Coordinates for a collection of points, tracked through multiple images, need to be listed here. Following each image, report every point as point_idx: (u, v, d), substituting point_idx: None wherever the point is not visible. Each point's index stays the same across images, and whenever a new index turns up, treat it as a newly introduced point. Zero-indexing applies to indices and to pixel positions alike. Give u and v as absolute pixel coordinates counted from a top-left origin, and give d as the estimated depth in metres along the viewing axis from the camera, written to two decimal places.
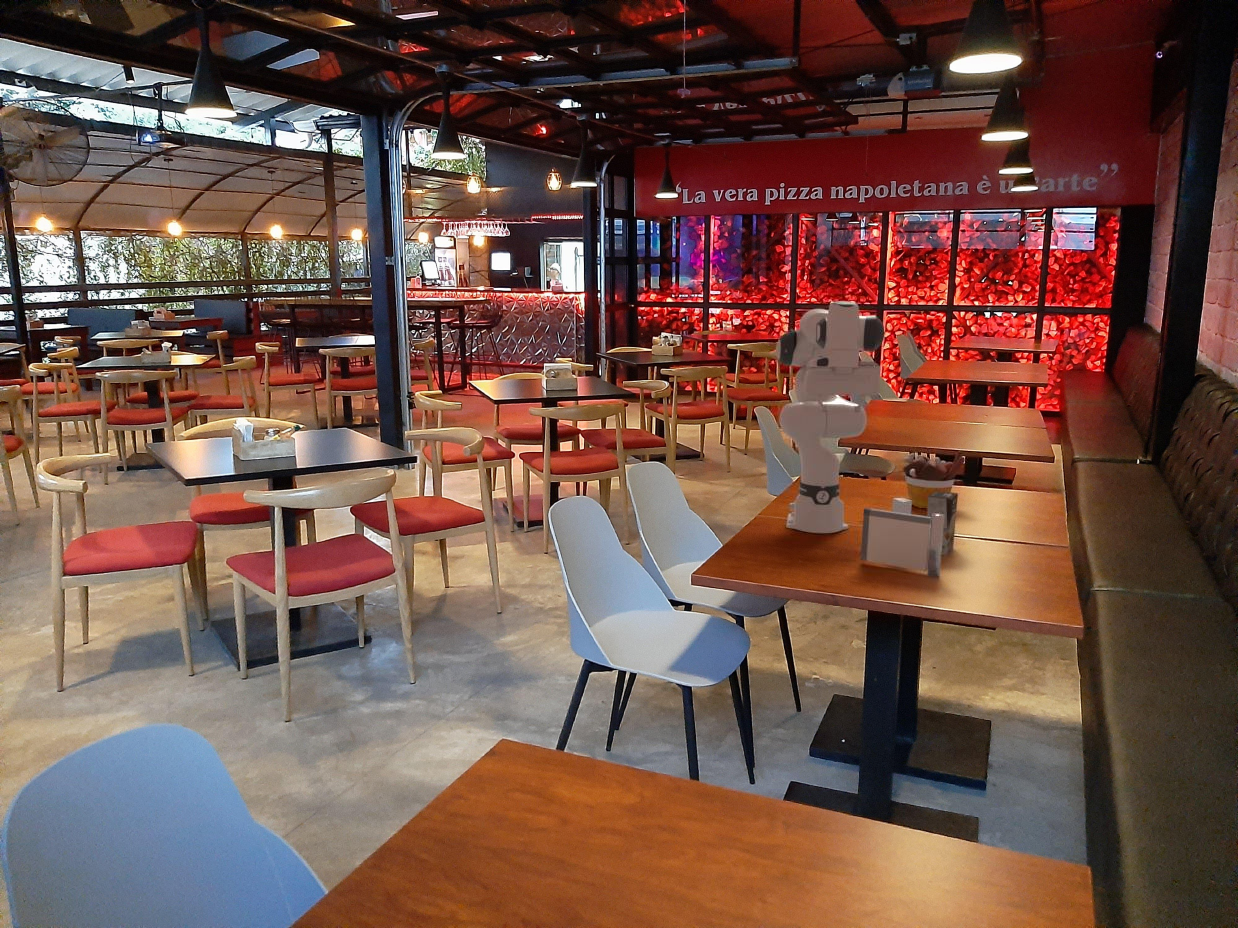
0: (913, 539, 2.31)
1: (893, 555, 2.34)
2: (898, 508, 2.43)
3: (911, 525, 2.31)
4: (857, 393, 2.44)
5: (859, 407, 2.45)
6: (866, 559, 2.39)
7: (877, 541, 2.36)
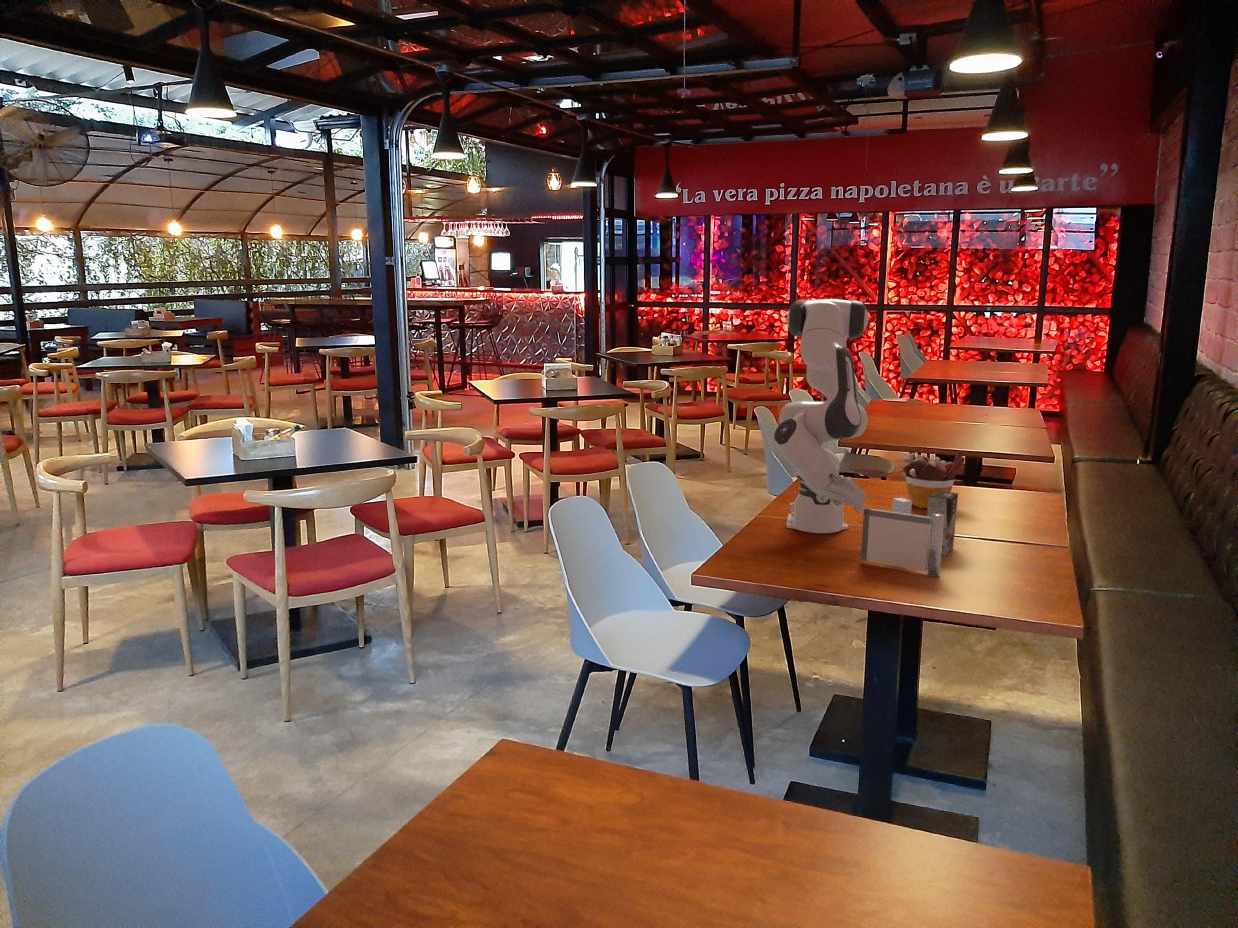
0: (913, 539, 2.31)
1: (893, 555, 2.34)
2: (898, 508, 2.43)
3: (911, 525, 2.31)
4: (844, 502, 2.27)
5: (856, 510, 2.27)
6: (866, 559, 2.39)
7: (877, 541, 2.36)
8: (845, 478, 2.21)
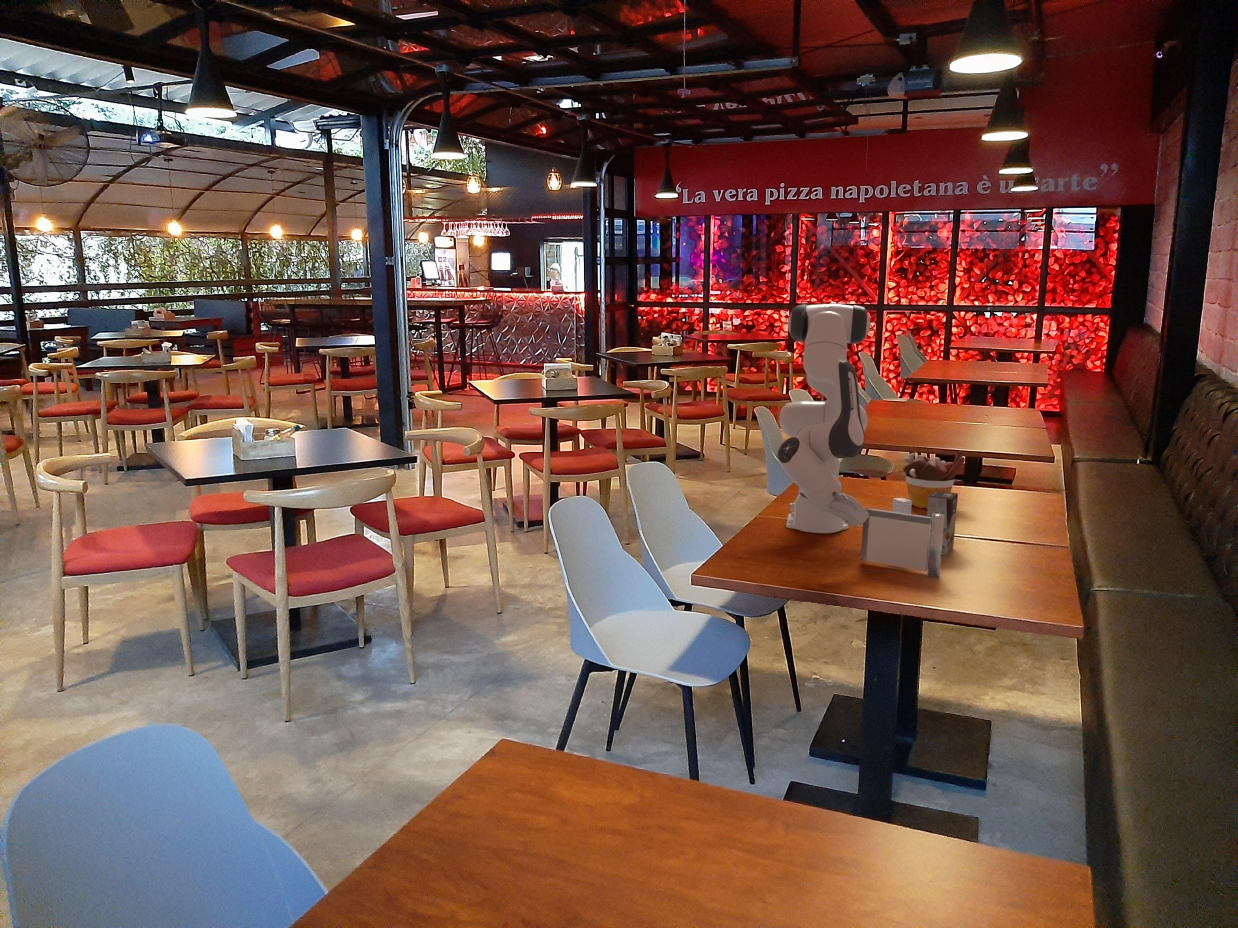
0: (913, 539, 2.31)
1: (893, 555, 2.34)
2: (898, 508, 2.43)
3: (911, 525, 2.31)
4: (847, 519, 2.28)
5: (850, 523, 2.32)
6: (866, 559, 2.39)
7: (877, 541, 2.36)
8: (848, 496, 2.23)
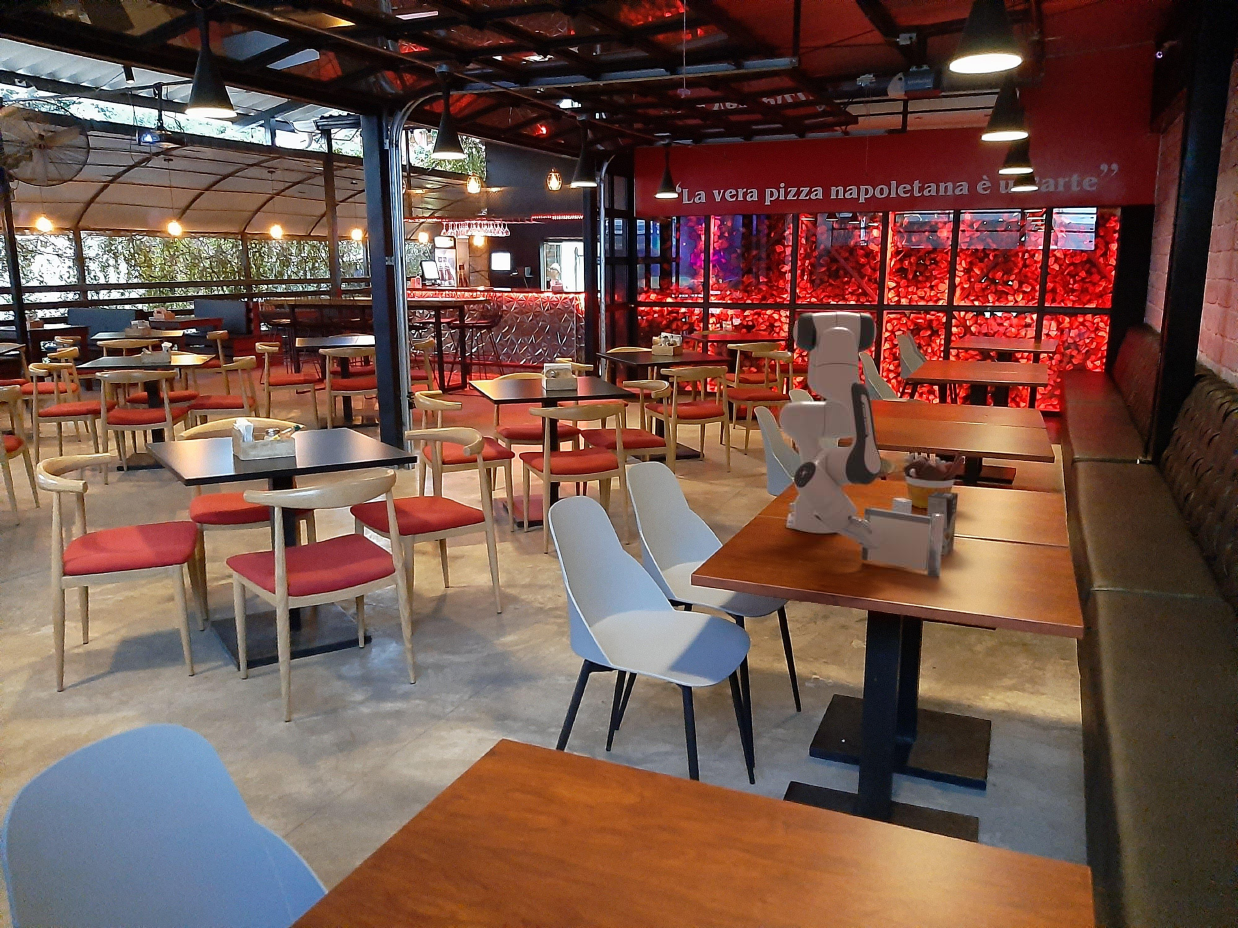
0: (914, 539, 2.31)
1: (893, 555, 2.35)
2: (898, 508, 2.43)
3: (911, 525, 2.31)
4: (862, 542, 2.31)
5: (865, 546, 2.36)
6: (867, 558, 2.39)
7: None
8: (863, 520, 2.26)
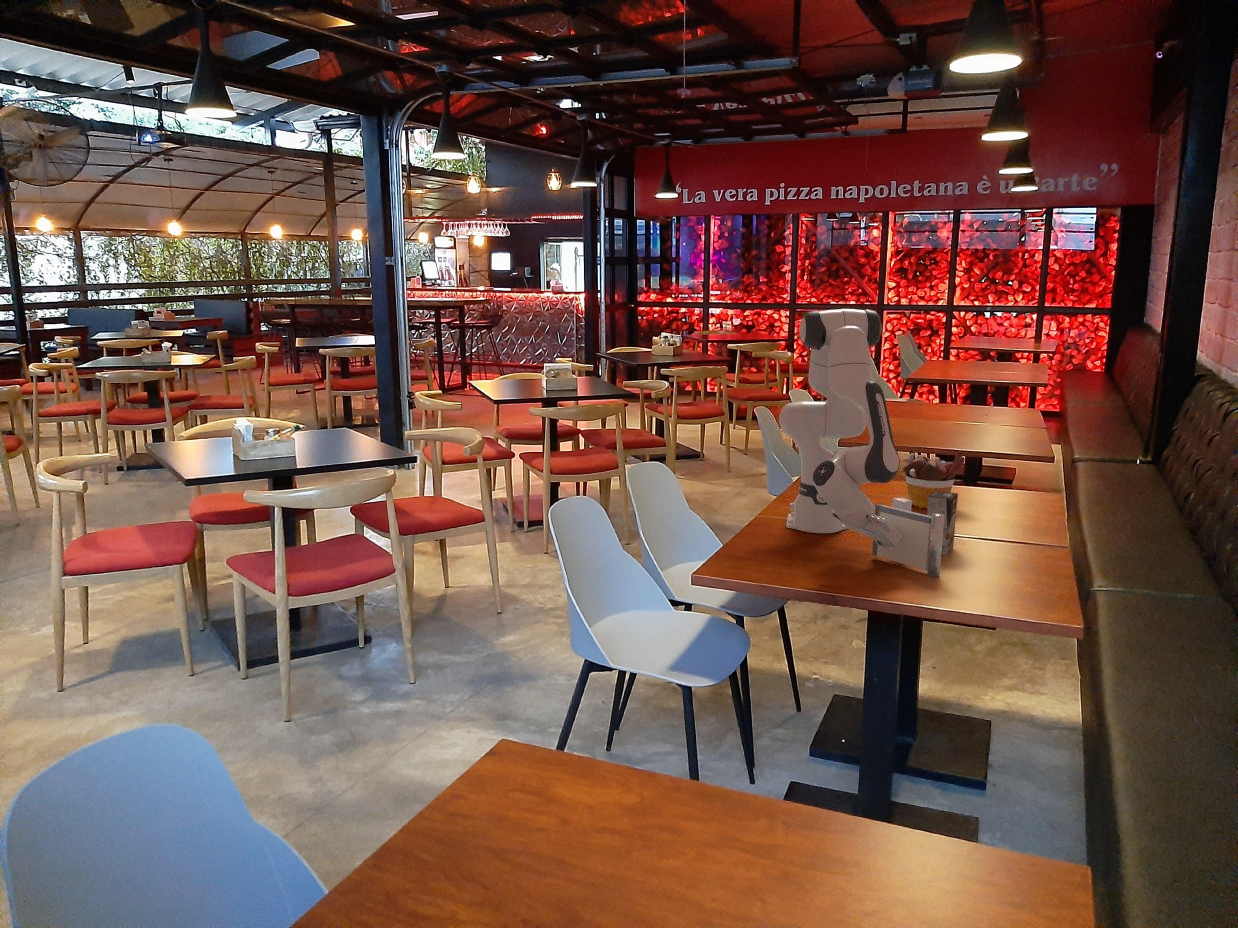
0: (916, 537, 2.32)
1: (899, 552, 2.37)
2: (898, 508, 2.43)
3: (914, 523, 2.32)
4: (879, 541, 2.33)
5: (883, 545, 2.38)
6: (876, 554, 2.43)
7: None
8: (881, 519, 2.28)
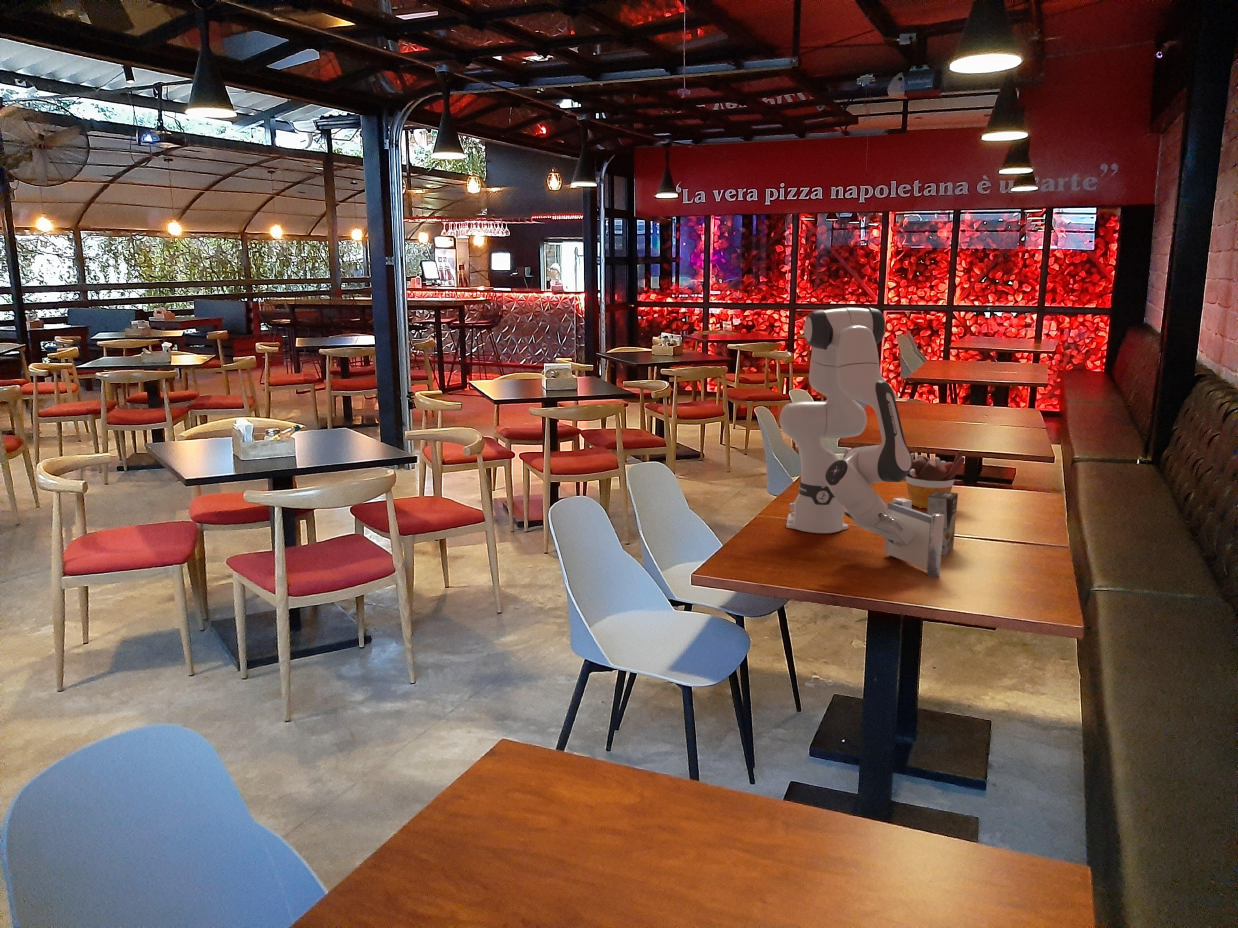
0: (919, 537, 2.33)
1: (905, 551, 2.39)
2: None
3: (918, 522, 2.33)
4: (892, 539, 2.35)
5: (895, 543, 2.39)
6: (888, 552, 2.45)
7: None
8: (894, 518, 2.29)
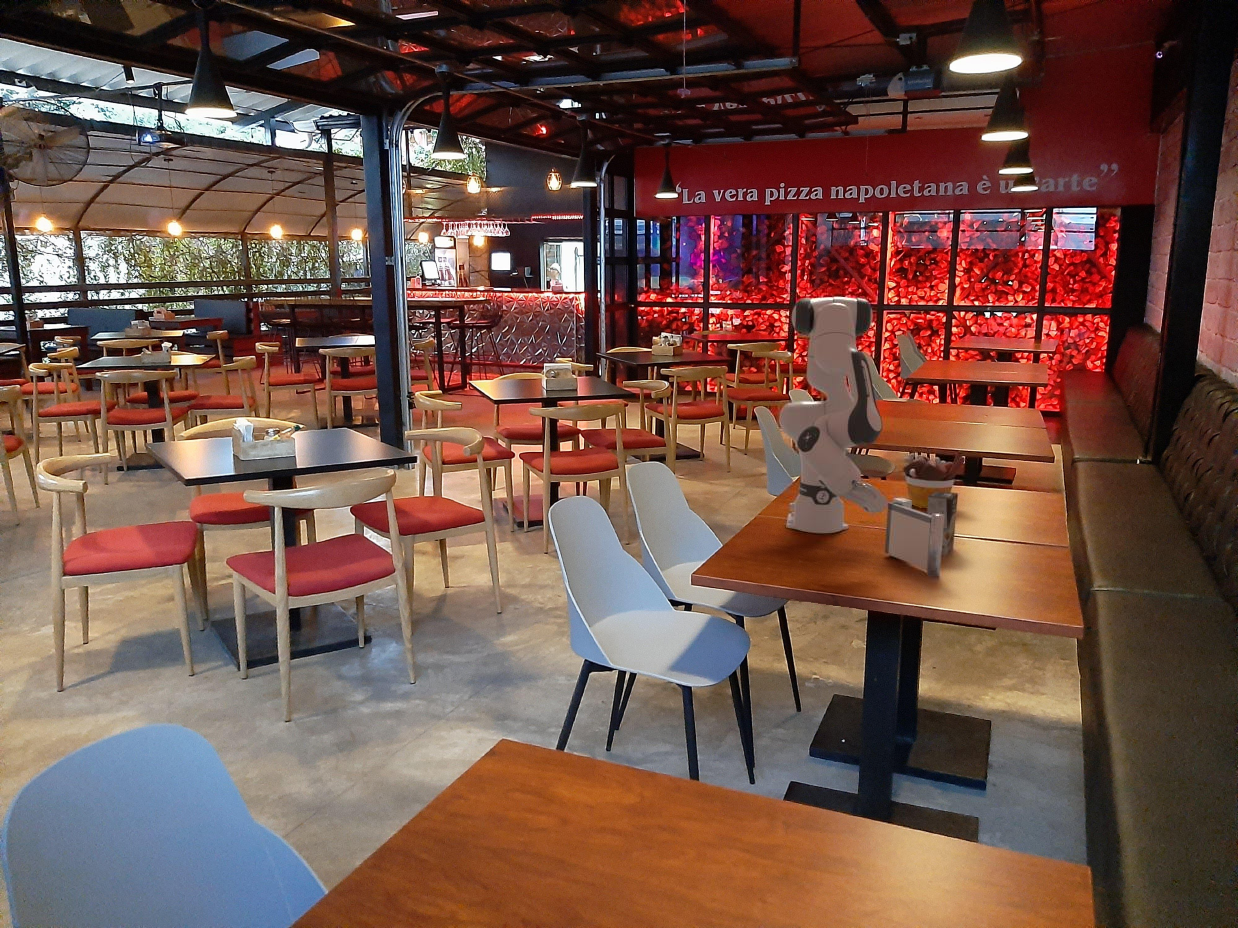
0: (919, 537, 2.33)
1: (905, 551, 2.39)
2: None
3: (918, 522, 2.33)
4: (866, 507, 2.30)
5: (869, 511, 2.34)
6: (888, 552, 2.45)
7: (895, 535, 2.42)
8: (867, 485, 2.24)
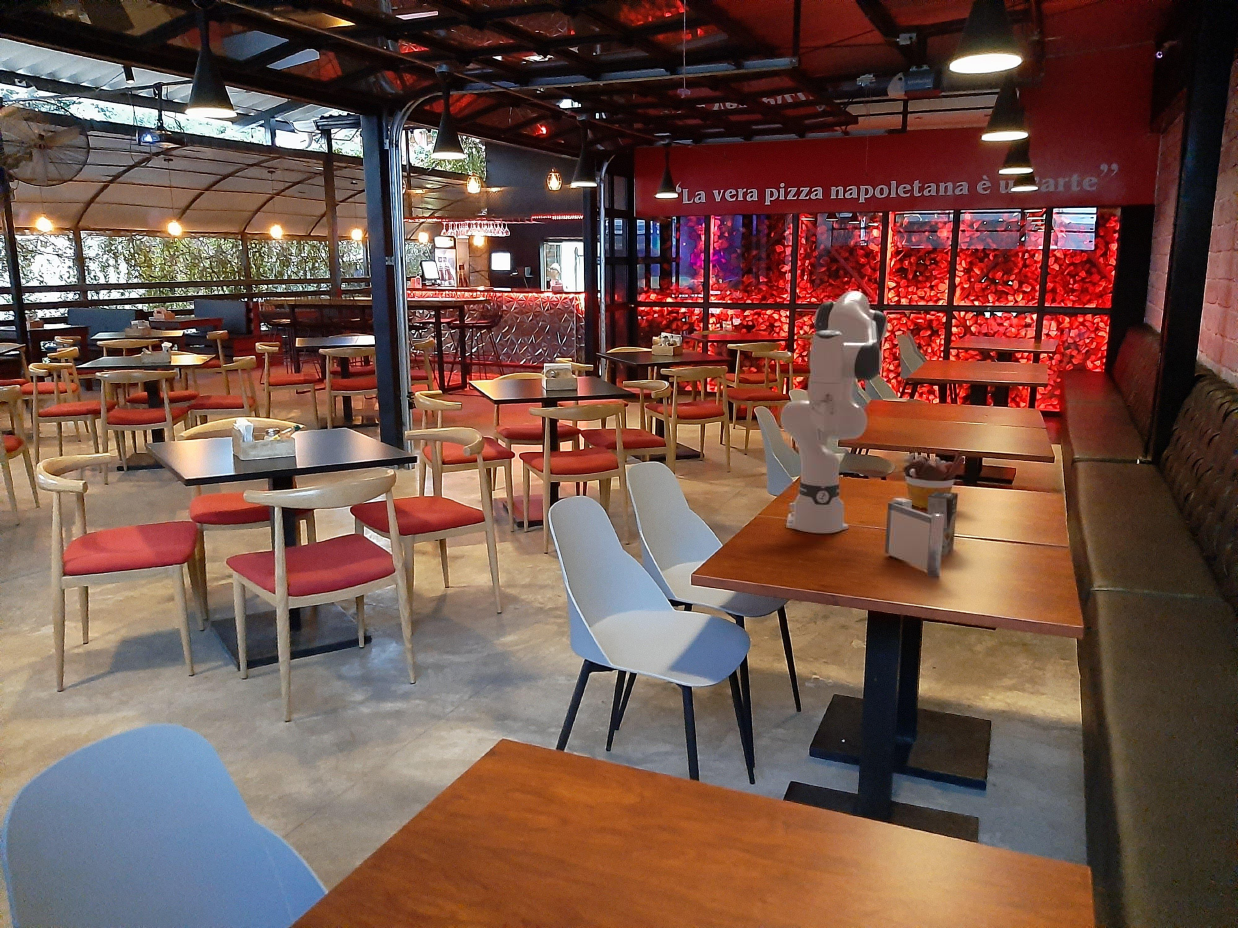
0: (919, 537, 2.33)
1: (905, 551, 2.39)
2: None
3: (918, 522, 2.33)
4: (819, 427, 2.35)
5: (820, 439, 2.38)
6: (888, 552, 2.45)
7: (895, 535, 2.42)
8: (835, 403, 2.30)
